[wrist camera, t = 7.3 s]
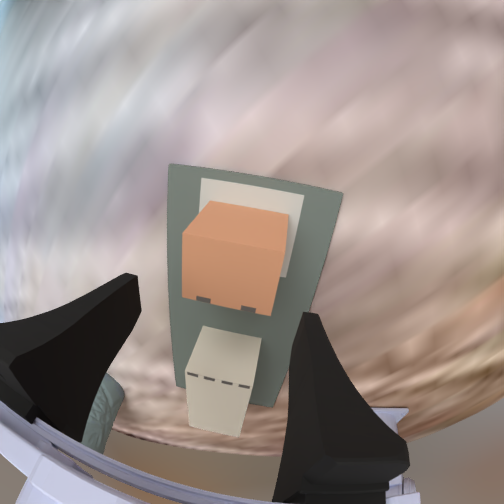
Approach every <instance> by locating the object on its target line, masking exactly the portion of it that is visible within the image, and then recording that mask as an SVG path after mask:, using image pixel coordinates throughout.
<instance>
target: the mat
mask: <svg viewBox="0 0 504 504" xmlns="http://www.w3.org/2000/svg"><path fill="white" fill-rule="evenodd" d="M342 196H343V193H342V192H338V191H333V190H329V189H324V188H319V187H315V186H310V185H305V184H300V183H295V182H290V181H285V180H279V179H274V178H268V177H262V176H257V175H251V174H244V173H238V172H232V171H225V170H218V169H211V168H203V167H196V166H188V165H179V164H169V168H168V196H167V264H168V292H169V311H170V326H171V339H172V350H173V361H174V371H175V380H176V386H178V387H181V388H185V389H186V380H185V369H186V367H187V364H188V362H189V359H190V357H191V354H192V352H193V349H194V347H195V344H196V342H197V339H198V337H199V334H200V332H201V330H202V327H203V326H207V327H211V328H215V329H220V330H224V331H229V332H233V333H238V334H243V335H248V336H253V337H258V338H262V339H261V345H260V351H259V356H258V362H257V367H256V373H255V378H254V383H253V388H252V392H251V396H250V399H249V404H255V405H261V406H266V407H273V405H274V403H275V401H276V398H277V396H278V393H279V391H280V388H281V386H282V383H283V381H284V378H285V375H286V373H287V370H288V368H289V364H290V356H291V349H292V344H293V341H294V338H295V335H296V332H297V329H298V326H299V323H300V320H301V317H302V314H303V312H309V309H310V306H311V303H312V300H313V297H314V294H315V290H316V287H317V284H318V281H319V278H320V275H321V271H322V268H323V265H324V261H325V258H326V255H327V251H328V248H329V244H330V241H331V237H332V234H333V230H334V227H335V223H336V219H337V215H338V212H339V208H340V204H341V200H342ZM209 201H216V202H222V203H228V204H234V205H240V206H245V207H251V208H257V209H262V210H268V211H273V212H278V213H283V214H289V217H288V228H287V239H286V249H285V256H284V260H283V265H282V269H281V274H280V278H279V282H278V287H277V291H276V295H275V300H274V304H273V308H272V312H271V316H267V315H262V314H257V313H252V312H247V311H242V310H237V309H233V308H228V307H223V306H219V305H214V304H209V303H205V302H201V301H196V300H192V299H188V298H183V297H182V233H183V232H184V231H185V229H186V228H187V227H188V226H189V225H190V223H191V222H192V221H193V220H194V219H195V218H196V216H197V215H198V214H199V213H200V212H201V210H202V209H203V208H204V207H205V206H206V205H207V204H208V202H209Z"/></svg>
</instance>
